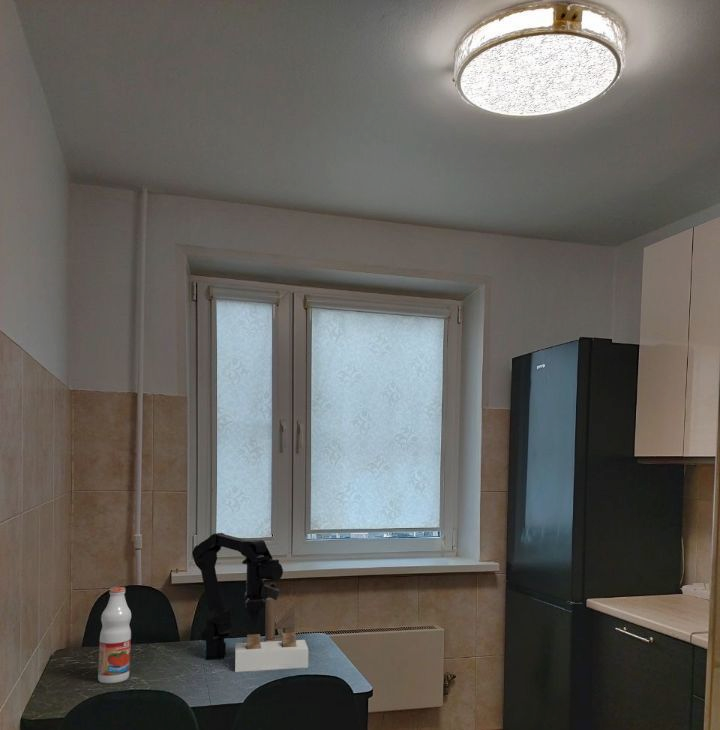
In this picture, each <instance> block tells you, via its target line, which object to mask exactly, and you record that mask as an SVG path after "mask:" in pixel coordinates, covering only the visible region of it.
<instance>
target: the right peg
mask: <svg viewBox="0 0 720 730" xmlns="http://www.w3.org/2000/svg"><path fill="white" fill-rule="evenodd" d="M281 637H282V647H296V640H297V635H296V632H295V631H294V633H283V632H282V633H281Z"/></svg>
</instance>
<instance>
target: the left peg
mask: <svg viewBox="0 0 720 730" xmlns="http://www.w3.org/2000/svg"><path fill="white" fill-rule="evenodd" d="M260 642H261V634H260V633H258V634H257V633H256V634H254V633H253V634H247V635H246V643H247V649H260Z"/></svg>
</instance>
